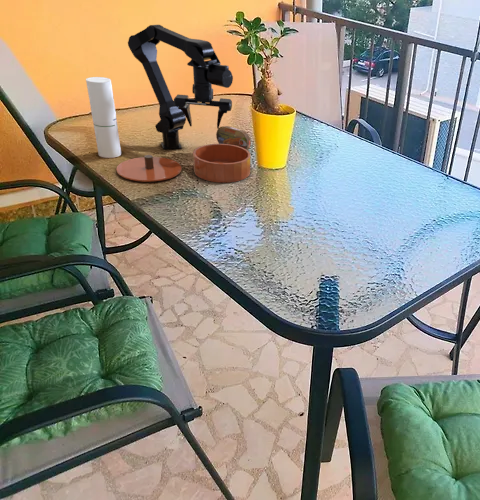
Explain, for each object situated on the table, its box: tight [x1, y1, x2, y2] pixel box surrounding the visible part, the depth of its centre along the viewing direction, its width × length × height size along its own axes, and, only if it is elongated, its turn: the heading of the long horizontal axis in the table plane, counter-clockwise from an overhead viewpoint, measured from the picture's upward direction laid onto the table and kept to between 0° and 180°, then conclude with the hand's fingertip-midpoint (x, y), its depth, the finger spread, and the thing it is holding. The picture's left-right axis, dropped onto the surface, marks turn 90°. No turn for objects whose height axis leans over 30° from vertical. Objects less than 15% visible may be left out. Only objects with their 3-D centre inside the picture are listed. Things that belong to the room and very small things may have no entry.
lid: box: [116, 154, 182, 182], centre depth 152 cm, size 20×20×5 cm
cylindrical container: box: [85, 76, 122, 159], centre depth 155 cm, size 7×7×25 cm
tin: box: [215, 125, 252, 151], centre depth 177 cm, size 15×3×8 cm, turn 62°
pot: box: [192, 143, 252, 183], centre depth 159 cm, size 19×19×6 cm
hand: (204, 127), depth 164 cm, fingers open, 9 cm apart
